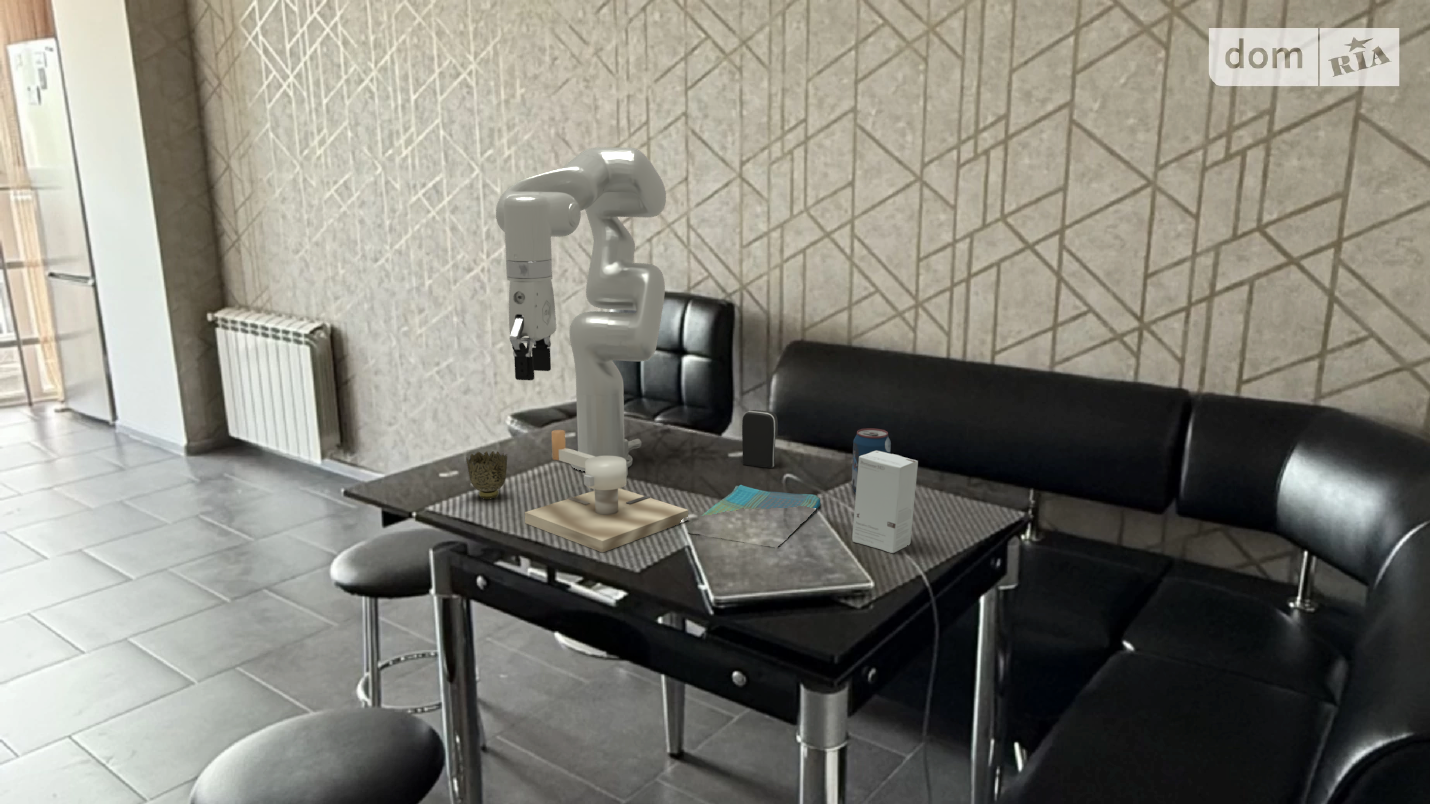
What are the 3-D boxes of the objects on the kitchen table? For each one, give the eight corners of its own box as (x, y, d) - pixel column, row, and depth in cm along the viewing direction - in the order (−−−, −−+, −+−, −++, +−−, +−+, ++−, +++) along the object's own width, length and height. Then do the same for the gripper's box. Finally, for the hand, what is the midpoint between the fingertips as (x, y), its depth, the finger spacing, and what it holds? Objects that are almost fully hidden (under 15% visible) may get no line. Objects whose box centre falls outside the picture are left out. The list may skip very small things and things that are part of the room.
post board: (610, 495, 195) (610, 461, 193) (688, 520, 182) (688, 484, 180) (525, 523, 181) (523, 486, 179) (602, 552, 168) (601, 513, 166)
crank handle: (573, 462, 192) (572, 425, 190) (638, 482, 180) (637, 443, 179) (536, 472, 185) (534, 435, 184) (601, 494, 174) (600, 453, 173)
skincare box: (851, 542, 172) (854, 456, 169) (870, 532, 177) (874, 448, 173) (895, 555, 167) (899, 466, 163) (914, 544, 171) (918, 457, 168)
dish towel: (823, 508, 190) (823, 494, 190) (779, 552, 170) (779, 537, 169) (736, 495, 197) (736, 482, 196) (683, 536, 176) (683, 522, 176)
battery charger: (779, 464, 215) (780, 410, 212) (772, 469, 211) (773, 414, 208) (747, 460, 217) (748, 407, 215) (740, 465, 214) (741, 411, 211)
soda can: (895, 493, 197) (898, 432, 194) (874, 502, 192) (877, 439, 189) (865, 485, 201) (867, 425, 199) (844, 493, 196) (846, 432, 194)
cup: (499, 505, 190) (497, 463, 188) (461, 502, 191) (459, 460, 189) (515, 492, 197) (513, 451, 195) (478, 489, 198) (476, 449, 196)
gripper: (530, 277, 164) (535, 387, 169) (568, 265, 181) (571, 366, 185) (486, 276, 166) (491, 385, 170) (528, 264, 183) (532, 364, 187)
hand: (533, 374), depth 178 cm, fingers open, 6 cm apart
